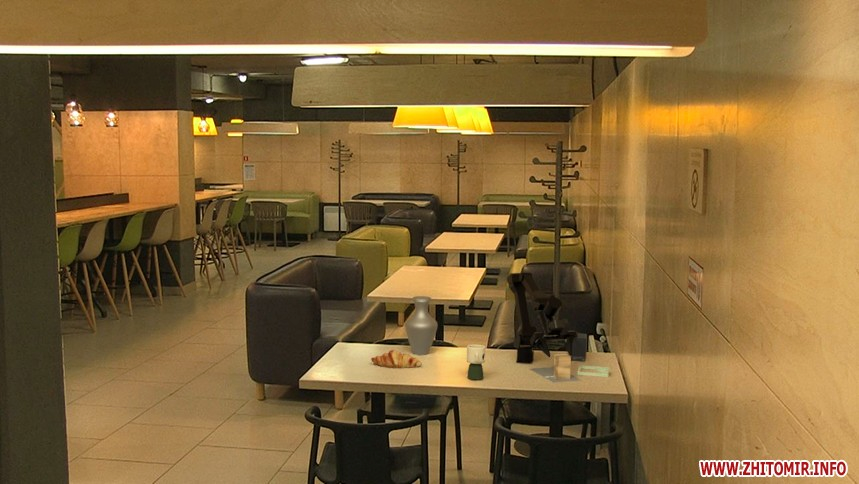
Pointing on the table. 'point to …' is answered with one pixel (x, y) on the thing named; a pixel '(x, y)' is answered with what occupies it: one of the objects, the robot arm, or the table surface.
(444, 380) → the table surface
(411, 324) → the vase
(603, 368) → the tray
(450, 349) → the table surface
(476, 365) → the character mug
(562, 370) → the stub
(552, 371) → the ticket board
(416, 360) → the croissant
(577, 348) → the small box
